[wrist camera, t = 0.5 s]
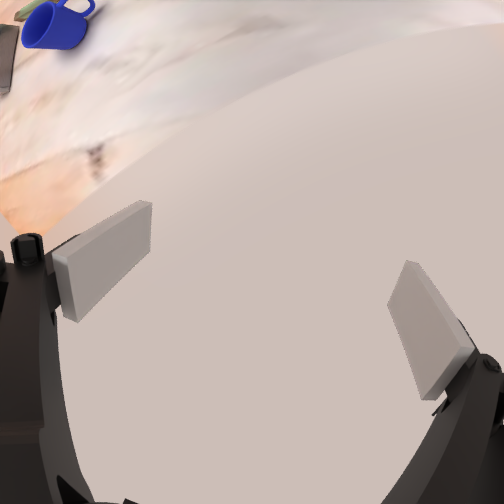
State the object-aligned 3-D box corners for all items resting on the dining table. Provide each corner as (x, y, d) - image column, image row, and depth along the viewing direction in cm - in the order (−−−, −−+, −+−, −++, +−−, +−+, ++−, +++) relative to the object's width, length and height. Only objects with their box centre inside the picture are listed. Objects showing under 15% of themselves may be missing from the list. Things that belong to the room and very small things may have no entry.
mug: (115, 16, 31) (78, -1, 22) (66, 62, 34) (26, 58, 25) (101, -9, 28) (66, -25, 19) (54, 36, 32) (17, 29, 23)
